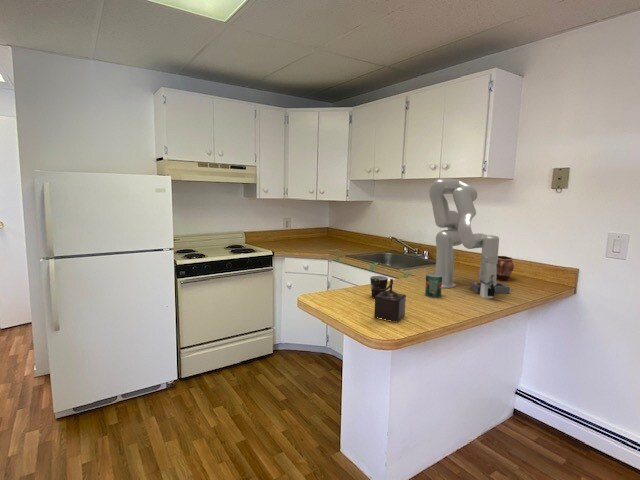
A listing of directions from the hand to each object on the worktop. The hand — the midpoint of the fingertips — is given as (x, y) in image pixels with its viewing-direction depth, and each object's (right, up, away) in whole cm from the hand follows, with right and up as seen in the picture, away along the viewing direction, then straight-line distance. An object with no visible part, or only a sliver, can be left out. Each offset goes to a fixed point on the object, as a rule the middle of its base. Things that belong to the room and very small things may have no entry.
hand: (486, 293), depth 183 cm
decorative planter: (+26, +3, +37) cm, 45 cm away
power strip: (+7, 0, +15) cm, 16 cm away
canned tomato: (-27, -2, +1) cm, 27 cm away
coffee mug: (-55, -2, -1) cm, 55 cm away
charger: (0, -2, 0) cm, 2 cm away
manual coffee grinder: (-57, -6, -32) cm, 66 cm away
